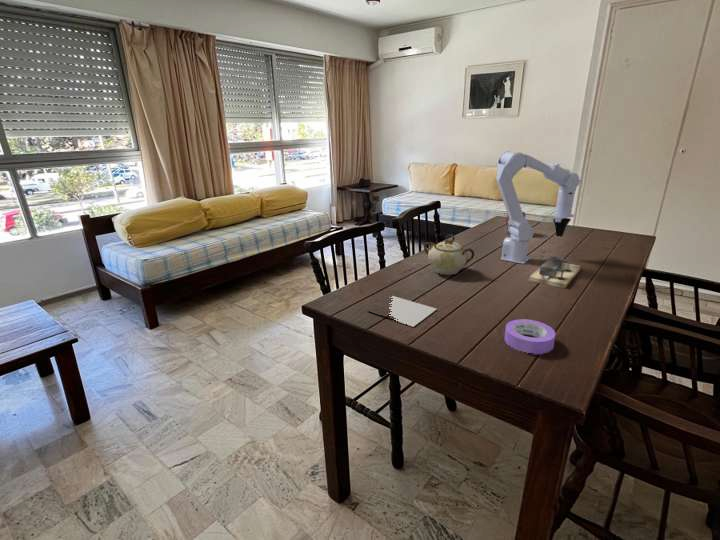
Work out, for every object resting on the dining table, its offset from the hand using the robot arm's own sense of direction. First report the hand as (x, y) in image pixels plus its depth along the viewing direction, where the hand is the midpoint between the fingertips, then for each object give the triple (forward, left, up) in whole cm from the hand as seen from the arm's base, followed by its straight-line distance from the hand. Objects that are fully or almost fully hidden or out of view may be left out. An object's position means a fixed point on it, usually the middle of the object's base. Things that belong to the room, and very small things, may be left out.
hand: (559, 236), depth 155 cm
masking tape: (+12, -75, -10) cm, 77 cm away
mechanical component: (-27, +28, -10) cm, 40 cm away
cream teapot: (-29, -41, -10) cm, 51 cm away
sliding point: (+5, -19, -7) cm, 21 cm away
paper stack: (-20, -75, -10) cm, 78 cm away
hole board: (+5, -21, -9) cm, 24 cm away
